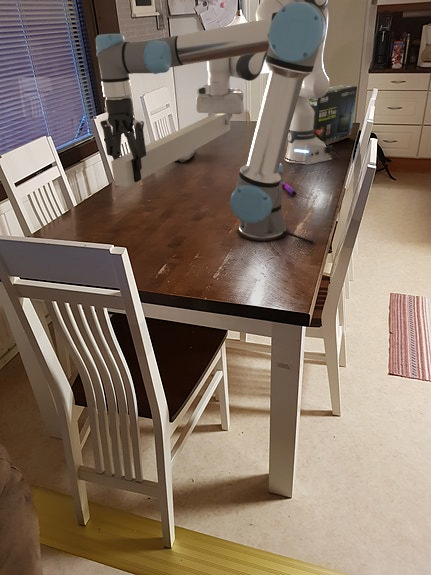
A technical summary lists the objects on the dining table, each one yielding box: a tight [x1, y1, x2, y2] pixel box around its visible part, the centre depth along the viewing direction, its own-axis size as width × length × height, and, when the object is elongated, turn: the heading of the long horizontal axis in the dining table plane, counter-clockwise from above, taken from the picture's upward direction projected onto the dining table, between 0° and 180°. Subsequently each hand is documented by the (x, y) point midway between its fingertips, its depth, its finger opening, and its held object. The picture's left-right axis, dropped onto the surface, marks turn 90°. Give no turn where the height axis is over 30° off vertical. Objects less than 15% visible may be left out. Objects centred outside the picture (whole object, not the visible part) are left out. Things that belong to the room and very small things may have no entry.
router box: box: [308, 84, 358, 144], centre depth 238 cm, size 36×11×27 cm, turn 134°
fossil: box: [175, 148, 199, 163], centre depth 229 cm, size 18×11×15 cm
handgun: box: [282, 179, 297, 197], centre depth 185 cm, size 21×8×2 cm, turn 11°
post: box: [110, 113, 231, 188], centre depth 164 cm, size 78×5×7 cm, turn 156°
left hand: (130, 179), depth 139 cm, fingers closed on post, 5 cm apart
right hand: (220, 124), depth 190 cm, fingers closed on post, 5 cm apart
